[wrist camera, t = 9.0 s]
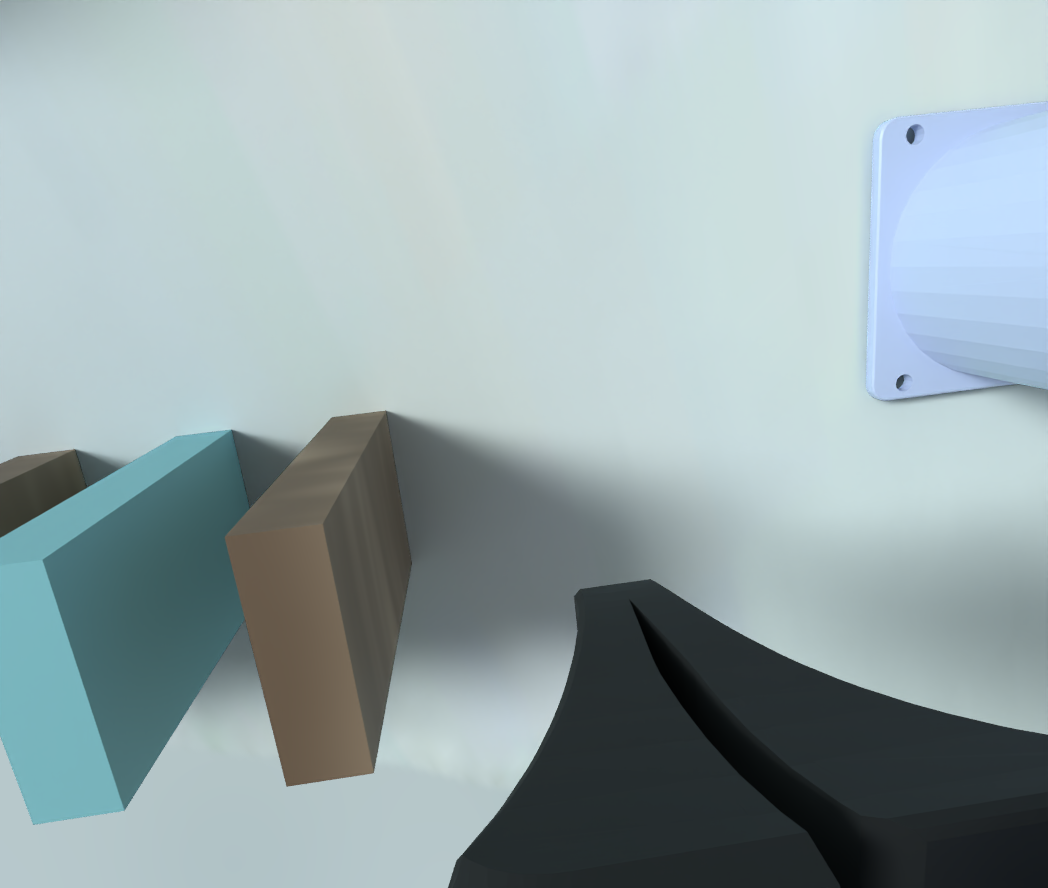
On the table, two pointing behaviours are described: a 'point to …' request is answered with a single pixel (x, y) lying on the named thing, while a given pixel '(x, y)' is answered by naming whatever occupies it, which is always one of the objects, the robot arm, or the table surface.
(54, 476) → the domino
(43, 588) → the domino
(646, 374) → the table surface
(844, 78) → the table surface
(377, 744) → the domino
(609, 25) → the table surface
